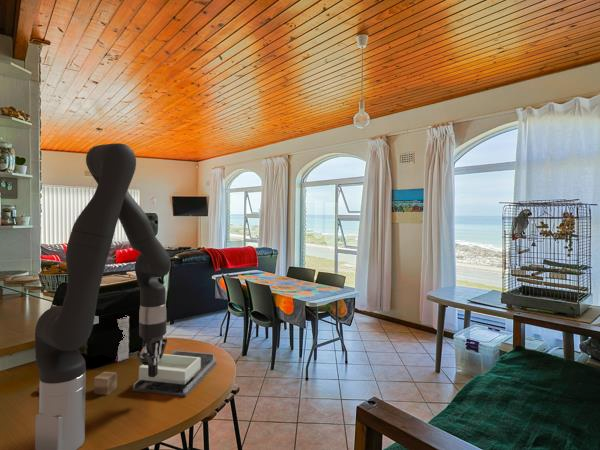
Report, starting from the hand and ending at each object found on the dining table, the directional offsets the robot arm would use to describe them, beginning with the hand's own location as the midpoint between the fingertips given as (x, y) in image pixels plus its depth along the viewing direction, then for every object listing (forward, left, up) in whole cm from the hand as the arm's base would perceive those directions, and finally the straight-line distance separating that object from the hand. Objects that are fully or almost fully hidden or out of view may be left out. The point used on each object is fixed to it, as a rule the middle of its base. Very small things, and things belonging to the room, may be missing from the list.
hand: (152, 375), depth 110 cm
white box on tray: (+11, 0, -6) cm, 13 cm away
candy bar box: (+26, +31, -8) cm, 41 cm away
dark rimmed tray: (+16, 0, -7) cm, 18 cm away
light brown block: (+2, +17, -7) cm, 19 cm away
